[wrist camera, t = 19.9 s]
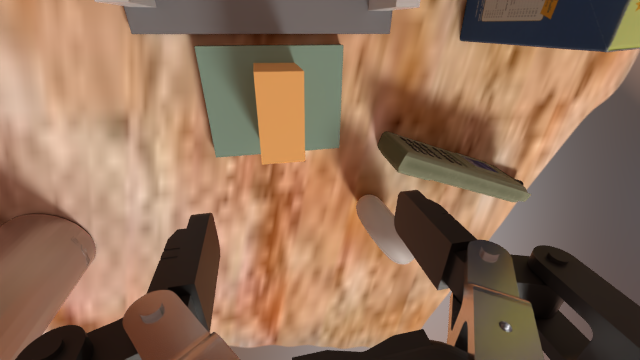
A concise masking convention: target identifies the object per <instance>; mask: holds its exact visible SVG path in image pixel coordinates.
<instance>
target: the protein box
mask: <svg viewBox="0 0 640 360" xmlns="http://www.w3.org/2000/svg"><path fill="white" fill-rule="evenodd" d="M460 40H461V41H468V42H482V43H495V44H509V45H521V46H533V47H546V48H559V49H571V50H587V51H600V52H614V51H623V50H633V49H640V0H467V3H466V9H465V14H464V19H463V24H462V30H461V35H460Z"/></svg>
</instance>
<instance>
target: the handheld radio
mask: <svg viewBox="0 0 640 360" xmlns="http://www.w3.org/2000/svg"><path fill="white" fill-rule="evenodd" d="M378 148H379V150H380V151H381V153H382V154H383V156H384V157H385V158H386V159H387V160H388V161H389V162H390V164H391V165H392V166H393V167H394V168H395V169H396V170H397V172H398V173H402V174H406V175H409V176H413V177H417V178H421V179H424V180H433V181H437V182H441V183H444V184H448V185H452V186H455V187H459V188H463V189H466V190H470V191H474V192H477V193H481V194H485V195H488V196H492V197H496V198H499V199H503V200H507V201H510V202H518V201H524V202H525V201H526V200H527V199H528V198H529V197H530V196H531V194H529V193H527V190H526V188H525V187H524V186H523V182H522V181H519V180H516V179H513V178H511V177H510V176H508V175H507V174H505V173H504V172H502V171H501V170H499V169H497V168H496V167H494V166H492V165H489V164H487V163H485V162H483V161H480V160H477V159H474V158H471V157H468V156H465V155H462V154H459V153H453V152H450V151H447V150H444V149H441V148H438V147H434V146H431V145H428V144H425V143H422V142H419V141H416V140H412V139H409V138H406V137H403V136H400V135H397V134H394V133H391V132H384V133H383V134H382V136H381V139H380V141H379V143H378Z"/></svg>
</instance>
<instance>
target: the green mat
mask: <svg viewBox="0 0 640 360" xmlns="http://www.w3.org/2000/svg"><path fill="white" fill-rule="evenodd" d="M195 52H196V57H197V62H198V67H199V72H200V77H201V82H202V88H203V93H204V98H205V103H206V108H207V113H208V118H209V123H210V129H211V134H212V139H213V144H214V149H215V154H216V157H228V156H241V155H254V154H261V148H260V137H259V126H258V116H257V105H256V95H255V84H254V73H253V63H296V64H297V65H298V66H299V67H300V68H301V69H302V70H303V71H304V107H305V150H318V149H331V148H339V141H340V116H341V92H342V67H343V45H223V46H195Z"/></svg>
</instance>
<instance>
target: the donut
mask: <svg viewBox="0 0 640 360" xmlns="http://www.w3.org/2000/svg"><path fill="white" fill-rule="evenodd" d="M356 209H357V214H358V216H359V219H360V220H361V222H362V224H363V226H364V227H365V229H366V230H367V232H368V233H369V235H370V236H371V237H372V239H373V240H374V241H375V243H376V244H377V245H378V246H379V248H380V249H381V250H382V251H383V252H384V253H385V255H386V256H387V257H388V258H390V259H391V260H392V261H394V262H395V263H398V264H408V263H410V262H411V261H412V260H413V259H414V256H413V255H412V254H411V252H410V251H409V249H408V248H407V246H406V245H405V244H404V242H403V241H402V239H401V238H400V237H399V235H398V234H397V232H396V230H395V226H394V218H395V216H394V215H393V214H392V213H391V211H390V210H389V209H388V208H387V206H386V205H385V204H384V203H383V202H382V201H381V200H380V199H379V198H378V197H376V196H374V195H364V196H362V197H361V198H360V199H359V200H358V202H357V206H356Z"/></svg>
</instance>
